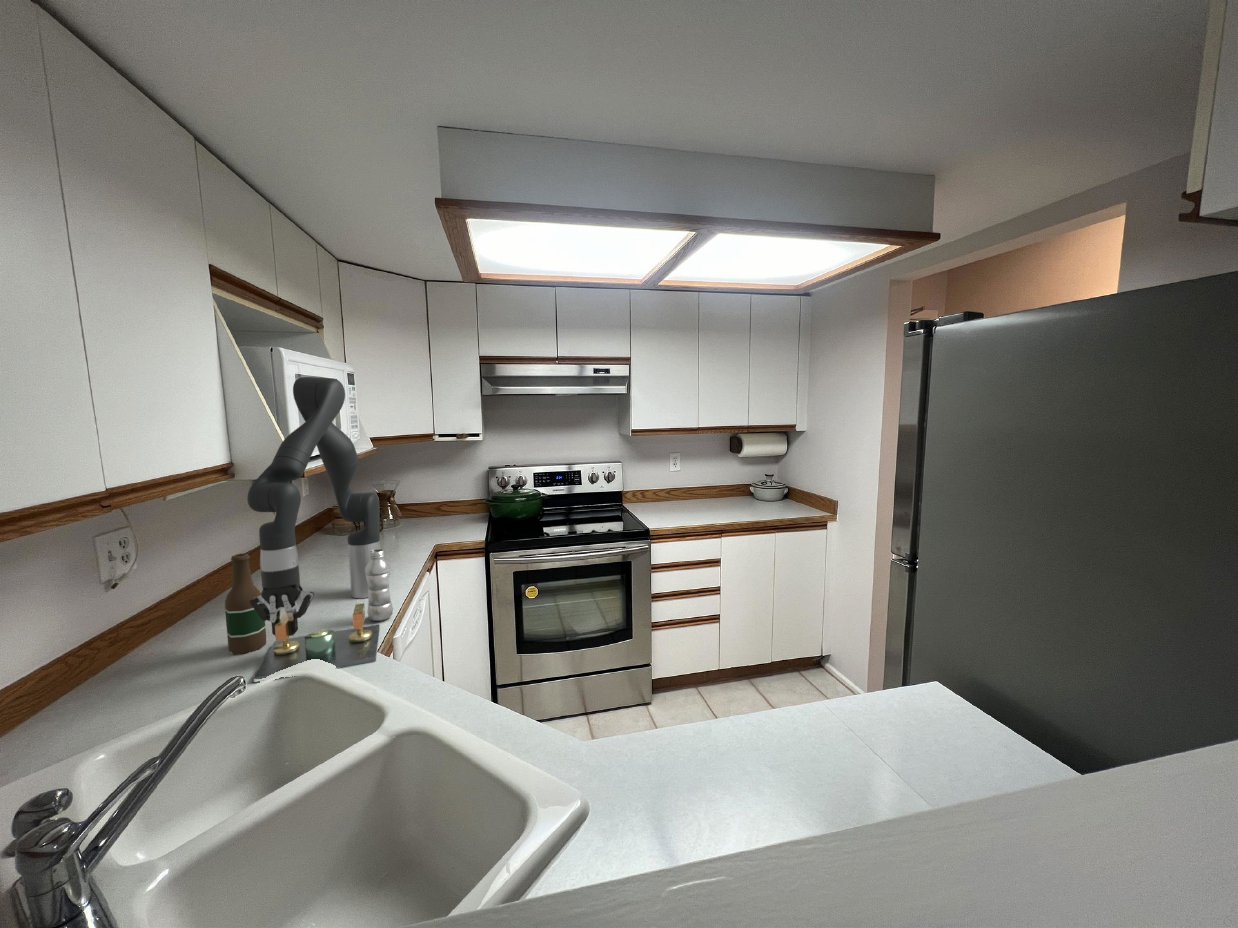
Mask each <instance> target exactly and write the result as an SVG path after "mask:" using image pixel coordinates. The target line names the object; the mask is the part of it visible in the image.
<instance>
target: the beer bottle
mask: <svg viewBox="0 0 1238 928" xmlns="http://www.w3.org/2000/svg"><path fill="white" fill-rule="evenodd" d="M249 559H251V557H250V555H249V554H248V553H238V554H235V555H232V556H231V558H230V561H232V585H231V589H230V590H229V591H228V593H227V595H226V599H225V600H224V601H225V602H224V613H225V625H226V634H227V645H228V650H229V652H230V653H231V652H232V653H231V654H233V655H247V654H250V653H253V652H256V650H257V651H259V650H261V649H262V648H264V647H265V646H266V644H267V629H266V628H267V627H266V621H263V620H262V619H261V618H260V616H259V615H258V614H257V612H256V611H255V609H254V608H253V607H252V605H251V604H250V600H252V599H253V598H254V597H256V596H259V595H261V592H260V589H258V587H256V586H255V585H254V581H253V579H252V572H251V567H250V561H249ZM249 652H250V653H249Z"/></svg>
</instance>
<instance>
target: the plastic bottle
mask: <svg viewBox="0 0 1238 928" xmlns="http://www.w3.org/2000/svg"><path fill="white" fill-rule="evenodd" d="M369 553H370V556H369V558H370V561H369V562H368V564H367V566H366V567H365V574H366V579H367V583H368V591H369V597H368V603H367V610H366V611H367V616H368V618H369V620H370V621H372V622H373V621H374V622H381V621H385V620H389V618H391V617H392V615H393V614H394V613H393V612H394V607H393V603H392V599H391V593H390V574H391V566H390V564H389V562H388V561H387V560H386V559H385V558H384V557H385V551H384V549H383V548H382V549H381V548H380V549H375V550H371V551H370V552H369Z"/></svg>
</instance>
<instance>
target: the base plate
mask: <svg viewBox="0 0 1238 928" xmlns="http://www.w3.org/2000/svg"><path fill="white" fill-rule="evenodd" d="M380 627H381V626H380V624H374V625H367V626H363V630H371V631H372V637H371V638H370V639H368V640H365V641H362V642H350V641H349V635H350V634H351V633H353V632H355V631H357V629H354V628H347V629H342V630H332V629H325V628H324V629H323V628H322V629H317V630H314V631H312V632H310V633H308V634H306V635H302V636H296V637H289V640H290V641H297V642H299V649H298V650H296V651H294V652H292V653H289V654H284V655H276V654H274V647H275V646H276V645H278V644H281V643H283V641H276V640H274V641H273V643H272V645H271V646H270V649H269V651H268V652H267V653H266V656H265V657H264V659H263V661H262V662H261V664H260V665H259V667H258V669H257V671H256V673H255V675H254V676H253V680H254V679H262V678H266V677H267V676H269V675H271V674H274V673H275V672H278V671H280V670H283V669H286V668H288V667H291V666H293V665H296V664H298V663H302V662H304V661H307V660H311V659H320V660H323V661H325V662H328V663H331V664H333V665H335V666H336V667H341V668H346V667H350V666H357V665H362V664H367V663H372V662H377V653H378V645H379V637H380Z"/></svg>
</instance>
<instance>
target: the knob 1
mask: <svg viewBox="0 0 1238 928" xmlns="http://www.w3.org/2000/svg"><path fill="white" fill-rule="evenodd" d="M288 621H289V620H288V616H287V613H285V614H283V615H282V616H280V620H279V622H278V623H277V624H276V625H275V635H276V637H275V641H283V643H281V644H278V645H276V646H275V647H274V654H276V655H284V654H289V653H292V652H294V651H296V650H298V649H299V642H297V641H290V640H289V638H290V636H289V628H288ZM275 635H274V636H275Z"/></svg>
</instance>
